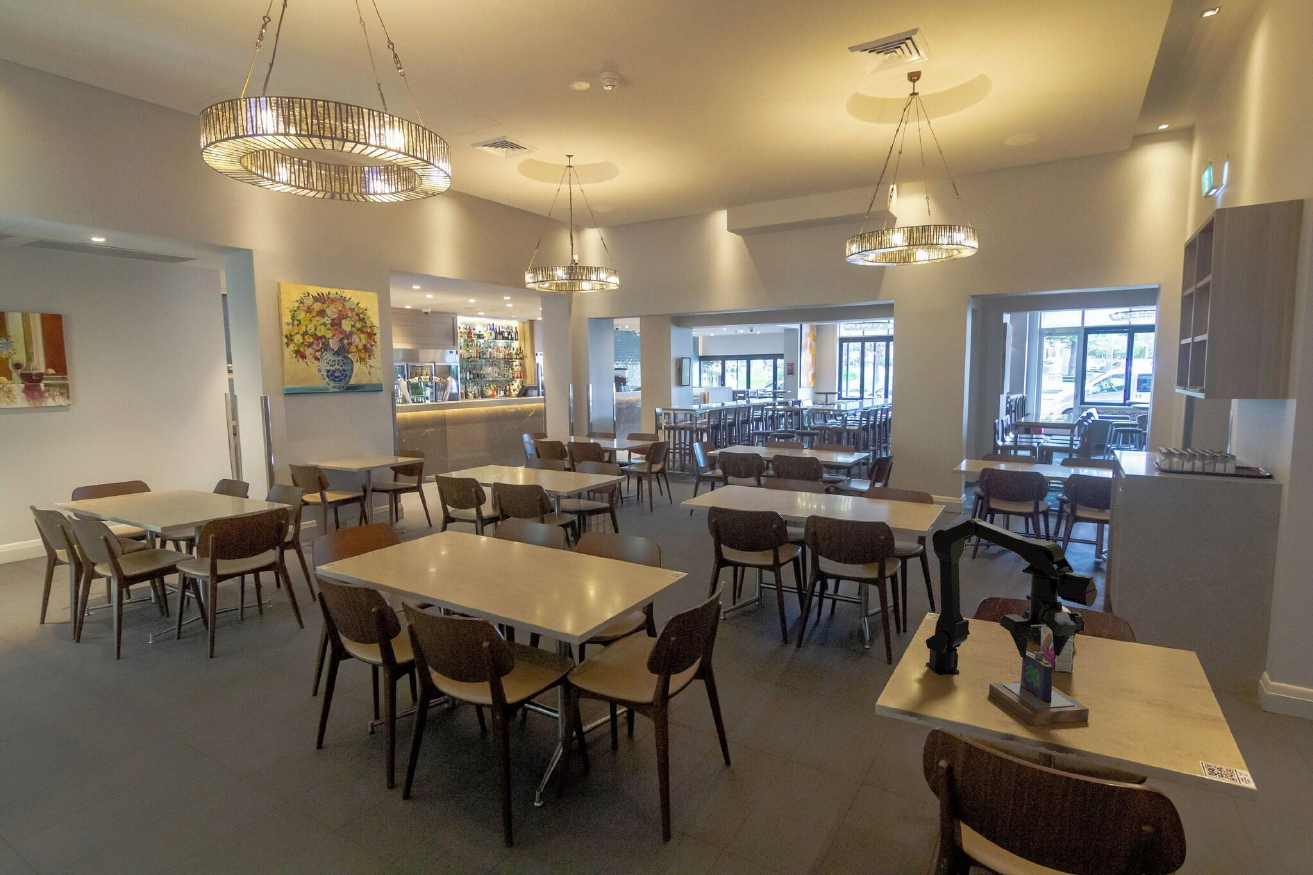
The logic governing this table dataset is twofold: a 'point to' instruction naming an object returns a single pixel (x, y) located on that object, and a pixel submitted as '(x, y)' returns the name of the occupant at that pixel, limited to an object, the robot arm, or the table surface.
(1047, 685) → the flask
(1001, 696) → the walnut plinth
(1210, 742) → the table surface
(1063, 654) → the candy bar box
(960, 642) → the robot arm
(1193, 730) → the table surface
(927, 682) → the table surface
